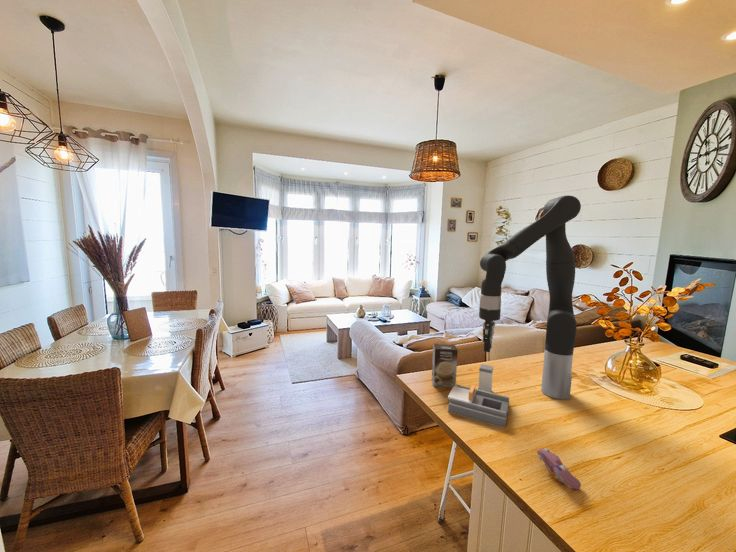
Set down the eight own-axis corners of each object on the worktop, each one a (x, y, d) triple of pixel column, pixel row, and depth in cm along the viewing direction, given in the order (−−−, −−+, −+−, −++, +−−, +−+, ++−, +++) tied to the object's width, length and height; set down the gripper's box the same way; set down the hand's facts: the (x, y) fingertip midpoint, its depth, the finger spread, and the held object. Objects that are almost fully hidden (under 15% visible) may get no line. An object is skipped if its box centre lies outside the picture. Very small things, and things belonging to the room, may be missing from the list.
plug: (491, 390, 118) (493, 366, 117) (490, 395, 115) (491, 370, 114) (479, 387, 120) (481, 364, 119) (478, 392, 117) (479, 367, 116)
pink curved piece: (540, 466, 81) (531, 446, 80) (554, 458, 81) (545, 438, 80) (568, 498, 71) (558, 475, 70) (584, 488, 71) (574, 466, 70)
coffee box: (433, 386, 121) (434, 348, 119) (431, 379, 127) (432, 343, 125) (456, 388, 120) (457, 349, 118) (453, 380, 126) (454, 344, 124)
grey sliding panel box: (508, 405, 108) (509, 394, 107) (504, 428, 95) (505, 416, 94) (458, 392, 116) (458, 382, 116) (448, 412, 103) (448, 400, 103)
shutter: (475, 393, 110) (476, 383, 110) (471, 405, 102) (471, 394, 102) (453, 387, 114) (454, 378, 113) (447, 398, 106) (448, 388, 106)
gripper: (482, 302, 121) (480, 342, 123) (476, 309, 109) (474, 354, 111) (502, 304, 117) (499, 346, 120) (498, 311, 105) (495, 358, 107)
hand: (487, 349), depth 115 cm, fingers open, 3 cm apart
